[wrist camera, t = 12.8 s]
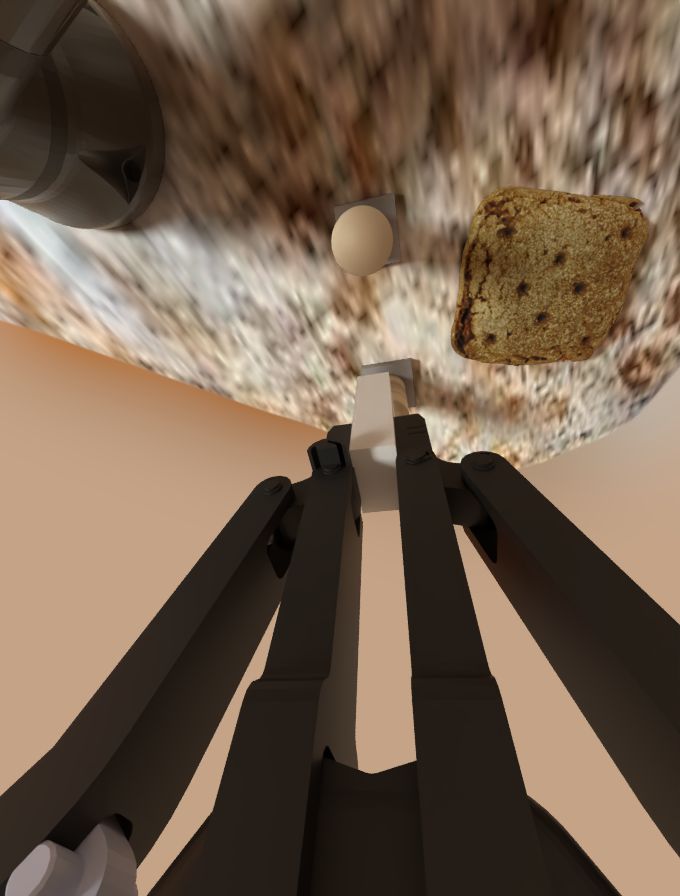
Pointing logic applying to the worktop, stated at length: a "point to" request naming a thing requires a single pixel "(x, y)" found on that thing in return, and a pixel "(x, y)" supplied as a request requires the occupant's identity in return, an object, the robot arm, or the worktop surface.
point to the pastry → (544, 275)
